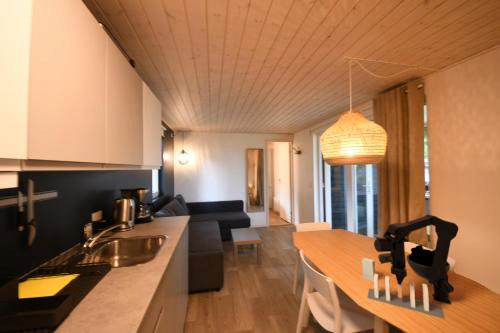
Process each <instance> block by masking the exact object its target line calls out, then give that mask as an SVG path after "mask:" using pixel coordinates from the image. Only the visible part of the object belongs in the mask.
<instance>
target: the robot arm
mask: <svg viewBox="0 0 500 333" xmlns="http://www.w3.org/2000/svg"><path fill="white" fill-rule="evenodd" d="M431 226H433V227H434V229H435V230H434V231H435V233H436V236H437V237H436V238H437V239H436V244H435V249H434V250H435V254H434V259H433V264H432V265H431V266H430V267H426V272H425V273H424V274H426V278H425V279H427V282H428V283H429V284H430V285H432V288H433V293H432V294H431V295H432V298H433V301H435V302H439V303H443V304H447V305H452V301H451V299H450V294H451V293H454V291H455V287H454V286H453V285H452V284H451V283H450V282H449V275H448V273H447V272H446V264H447V262H448V257H449V253H450V247H451V242H452V240H454V239H455V238H456V237H457V235H458V232H459V226H458V225H457V224H456V223H454V222H451V221H448V220H445V219H442V218H440V217H438V216H435V215H432V214H425V215H424V216H421V217H418V218H416V219H415V218H414V219H413V220H410V221H407V222H398V223H397V222H395V223H391V224H389V225H388V227H387V229H386V230H385V232H384V233H383V236H382V237H379V236H377V237H376V238H375V240H374V242H373V247H374V249H375V250H376V252H378V253H380V254H378V256H377V258H378V261H379V262H380V264H382V265H383V264H387V263H390V264H391V266H390V274H391V275H394V276H395V278H396V283H397V282H398V284H399V285H401V286H402V284H403V282H404V280H405V278H407V277H408V271H407V270H408V269H407V268H406V267H407V265H406V263H407V258H406V251H405V250H406V247H405V243H409V242H410V240H409V239H407V237H408V236H410V234H411V233H413V232H415V231H418V230H420V229H423V228H426V227H431ZM383 252H384V253H383ZM385 252H386V253H385ZM387 252H389V253H387Z"/></svg>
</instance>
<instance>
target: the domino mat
mask: <svg viewBox="0 0 500 333" xmlns="http://www.w3.org/2000/svg"><path fill="white" fill-rule="evenodd" d="M366 298H367V299H370V300H373V301H378V302H382V303H385V304H389V305H392V306H397V307H400V308H403V309H407V310H410V311H414V312H418V313H422V314H424V315H428V316H429V315H430V316H432V317H437V318H439V319H445V320H446V317H445V314H444V311H443V307H442V305H439V304H434V303H430V302H429V311H425V310H424V305H423V300H417V299H415V308H414V307H411V301H410V297H406V296H402V298H399V297H398V294H393V293H390V301H387V300H386V291H382V290H381V291H380V290H379V297H378V298H376V297H375V292H374V289H373V288H368V293H367V297H366Z"/></svg>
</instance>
